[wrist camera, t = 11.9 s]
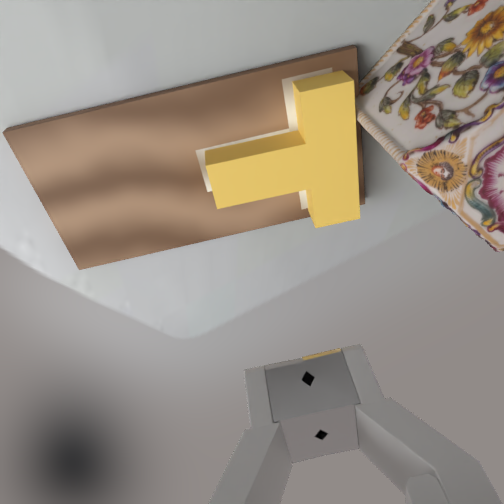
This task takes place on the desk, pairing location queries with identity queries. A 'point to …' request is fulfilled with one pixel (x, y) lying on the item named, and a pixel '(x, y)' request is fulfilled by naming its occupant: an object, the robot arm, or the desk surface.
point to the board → (165, 161)
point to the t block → (299, 156)
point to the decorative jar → (446, 109)
